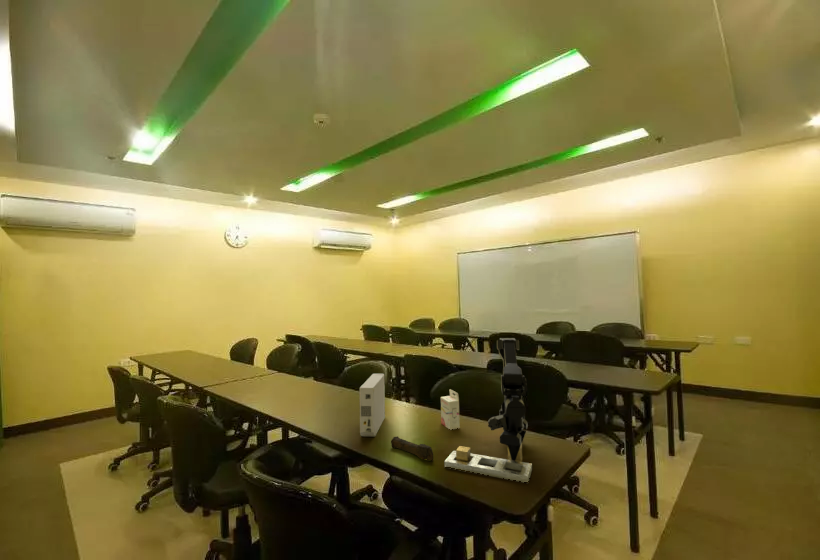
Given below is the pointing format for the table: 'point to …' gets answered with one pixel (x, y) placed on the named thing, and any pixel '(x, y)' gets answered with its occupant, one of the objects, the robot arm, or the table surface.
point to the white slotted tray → (473, 464)
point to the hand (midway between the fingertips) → (515, 456)
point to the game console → (372, 405)
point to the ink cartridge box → (450, 411)
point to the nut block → (519, 455)
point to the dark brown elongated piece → (413, 448)
